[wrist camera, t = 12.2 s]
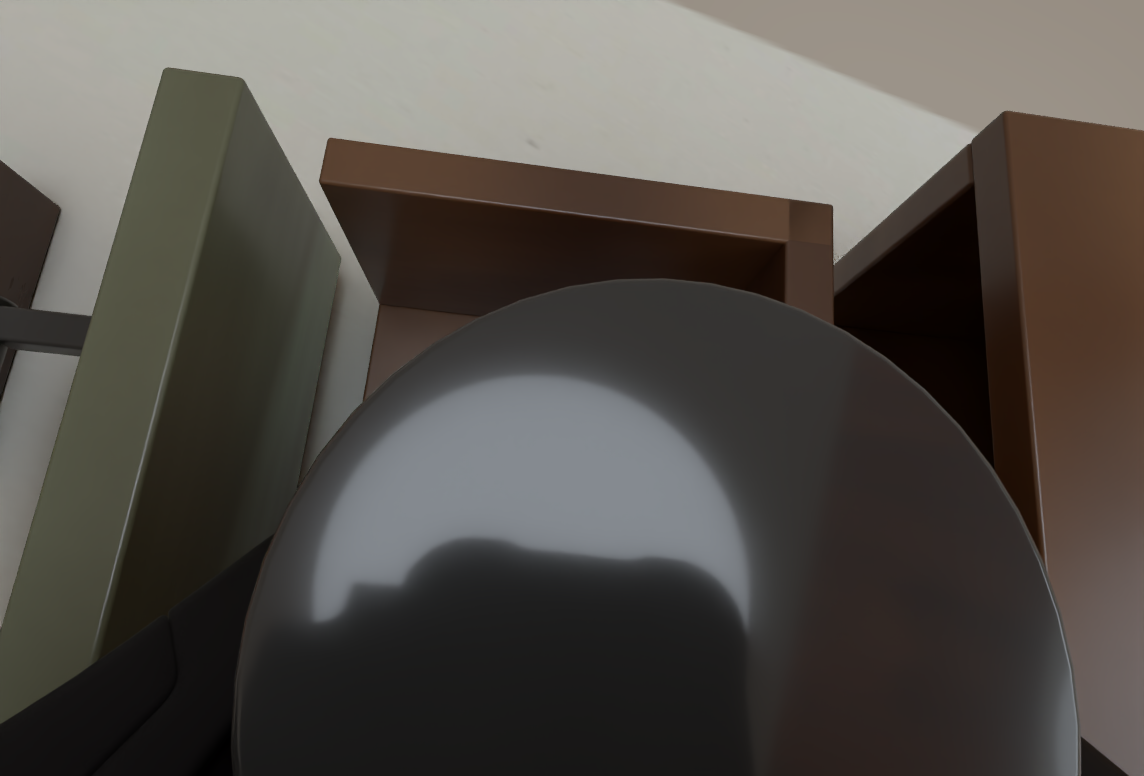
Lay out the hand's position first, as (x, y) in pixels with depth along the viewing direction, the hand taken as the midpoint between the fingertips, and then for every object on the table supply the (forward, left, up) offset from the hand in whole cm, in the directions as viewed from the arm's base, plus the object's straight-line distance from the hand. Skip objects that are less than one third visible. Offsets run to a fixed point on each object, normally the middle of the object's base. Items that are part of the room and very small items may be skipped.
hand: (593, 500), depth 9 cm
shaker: (-1, 0, -4) cm, 4 cm away
